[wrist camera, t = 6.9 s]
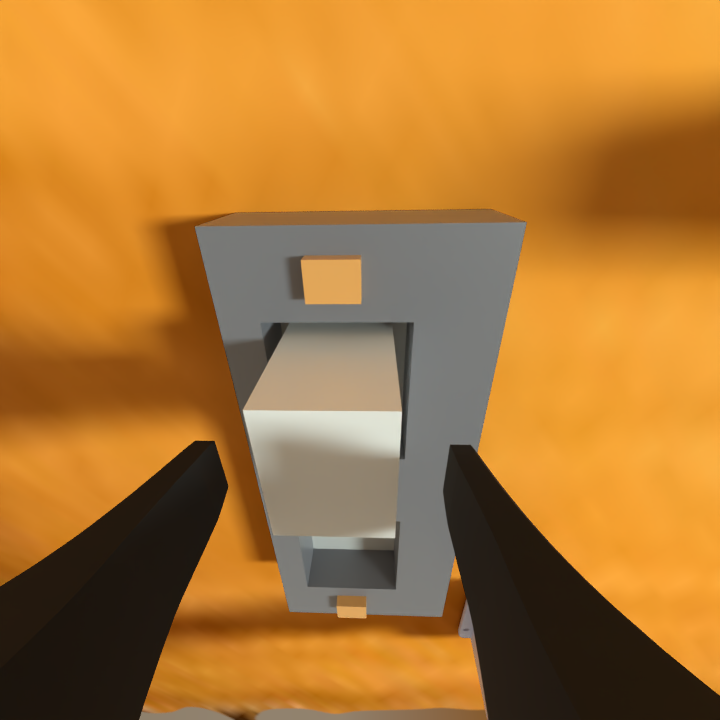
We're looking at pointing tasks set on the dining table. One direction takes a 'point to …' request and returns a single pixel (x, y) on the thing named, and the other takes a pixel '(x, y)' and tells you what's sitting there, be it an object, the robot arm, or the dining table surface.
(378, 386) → the plug
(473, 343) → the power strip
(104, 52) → the dining table surface
